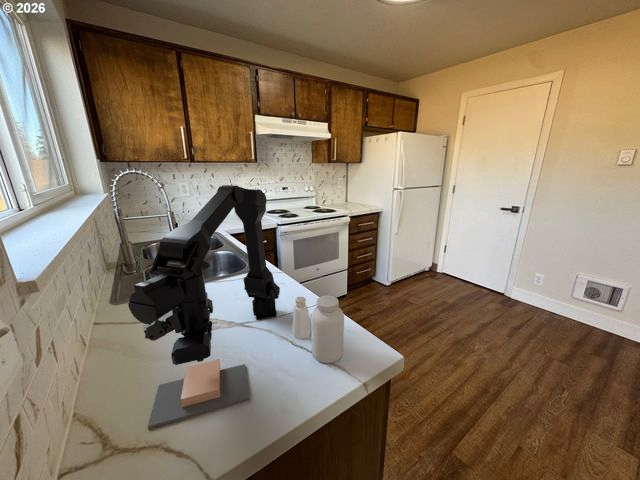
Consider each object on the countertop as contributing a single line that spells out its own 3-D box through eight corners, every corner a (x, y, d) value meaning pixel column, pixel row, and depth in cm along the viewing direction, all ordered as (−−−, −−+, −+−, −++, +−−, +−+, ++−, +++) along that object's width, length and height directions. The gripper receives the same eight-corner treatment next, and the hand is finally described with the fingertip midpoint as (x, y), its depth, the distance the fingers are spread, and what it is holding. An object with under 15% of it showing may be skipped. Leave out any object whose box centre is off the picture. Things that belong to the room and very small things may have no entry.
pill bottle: (320, 369, 62) (320, 312, 58) (306, 348, 69) (305, 296, 65) (349, 357, 66) (351, 303, 62) (333, 339, 73) (333, 289, 68)
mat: (245, 366, 63) (245, 363, 63) (249, 400, 54) (249, 397, 54) (159, 387, 58) (159, 384, 57) (148, 429, 49) (147, 426, 48)
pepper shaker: (287, 333, 75) (286, 298, 72) (301, 325, 79) (300, 291, 76) (301, 342, 72) (300, 306, 68) (315, 333, 75) (314, 298, 72)
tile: (219, 359, 62) (219, 389, 54) (220, 366, 62) (220, 397, 54) (186, 366, 60) (180, 399, 51) (187, 374, 60) (182, 407, 52)
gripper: (154, 282, 59) (166, 342, 63) (128, 330, 42) (147, 407, 47) (208, 275, 63) (216, 332, 67) (204, 317, 46) (215, 389, 50)
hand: (200, 360), depth 58 cm, fingers closed
